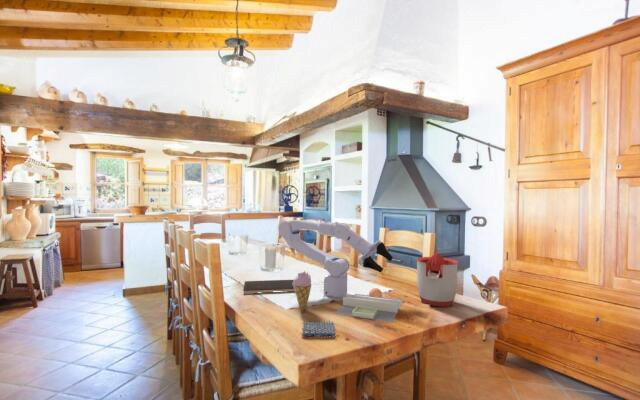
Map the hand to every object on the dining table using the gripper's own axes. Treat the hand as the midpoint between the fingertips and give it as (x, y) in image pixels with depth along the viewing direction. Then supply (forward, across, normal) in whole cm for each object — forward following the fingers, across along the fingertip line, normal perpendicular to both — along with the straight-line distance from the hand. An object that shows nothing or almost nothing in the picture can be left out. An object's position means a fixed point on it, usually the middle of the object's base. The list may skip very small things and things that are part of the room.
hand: (387, 265), depth 126 cm
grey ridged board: (+5, -15, +8) cm, 18 cm away
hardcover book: (-36, -25, +34) cm, 56 cm away
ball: (+3, -8, +9) cm, 12 cm away
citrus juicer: (+23, +6, +8) cm, 25 cm away
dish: (+5, -22, +2) cm, 23 cm away
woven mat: (-2, -41, -3) cm, 41 cm away
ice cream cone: (-13, -34, +9) cm, 38 cm away
